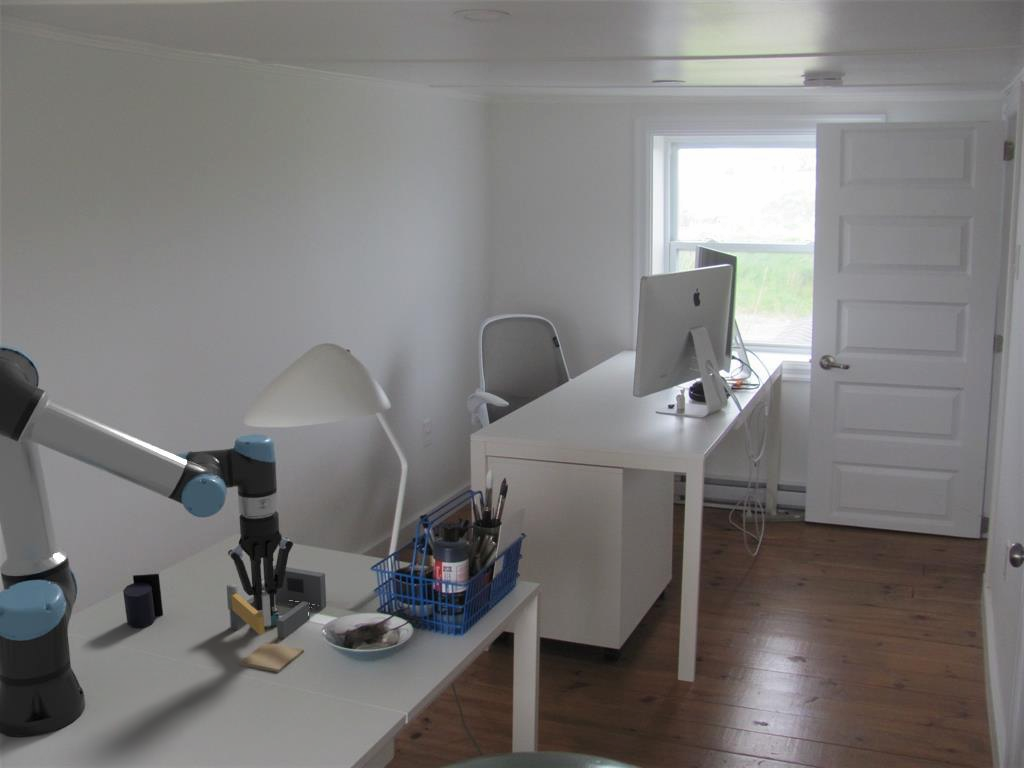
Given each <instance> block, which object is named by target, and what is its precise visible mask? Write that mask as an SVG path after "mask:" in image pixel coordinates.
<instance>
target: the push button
mask: <svg viewBox="0 0 1024 768" xmlns="http://www.w3.org/2000/svg"><path fill="white" fill-rule="evenodd" d="M261 580H262V591H263V590H265V591H266V589H265V586H264V578H261ZM275 591H276V593H277V591H278V589H276V590H275ZM276 593H275V594H276ZM275 594H274V607H271V608H270V614H271V625H268V626H264V628H265V627H266V628H270V627H274V626H276V627H277V620H278V619H279V618H281V617H282V616H283V615H284V614H283V615H280V614H279V610H278V609H277V608H276V602H275ZM258 612H259V611H258Z"/></svg>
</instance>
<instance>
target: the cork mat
mask: <svg viewBox="0 0 1024 768" xmlns="http://www.w3.org/2000/svg"><path fill="white" fill-rule="evenodd" d="M304 652H305V651H304V648H303V649H302V648H298V647H293V646H288V645H287V646H286V645H283V644H278V643H272V642H269V641H268V642H264V643H263V644H262V645H260V646H259V647H258V648H257V649H255V650H253V651H252V652H250V653H249V654H248V655H246V656H245V657H244V658H242V659H241V660H240V661H239V665H240V666H245V667H251V668H256V669H259V670H266V671H269V672H275V673H280V672H282V670H284V669H285V668H286V667H288V666H289V665H290V664H291V663H292V662H293V661H295V660H296V659H298V657H300V656H301V655H302V654H304Z"/></svg>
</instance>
